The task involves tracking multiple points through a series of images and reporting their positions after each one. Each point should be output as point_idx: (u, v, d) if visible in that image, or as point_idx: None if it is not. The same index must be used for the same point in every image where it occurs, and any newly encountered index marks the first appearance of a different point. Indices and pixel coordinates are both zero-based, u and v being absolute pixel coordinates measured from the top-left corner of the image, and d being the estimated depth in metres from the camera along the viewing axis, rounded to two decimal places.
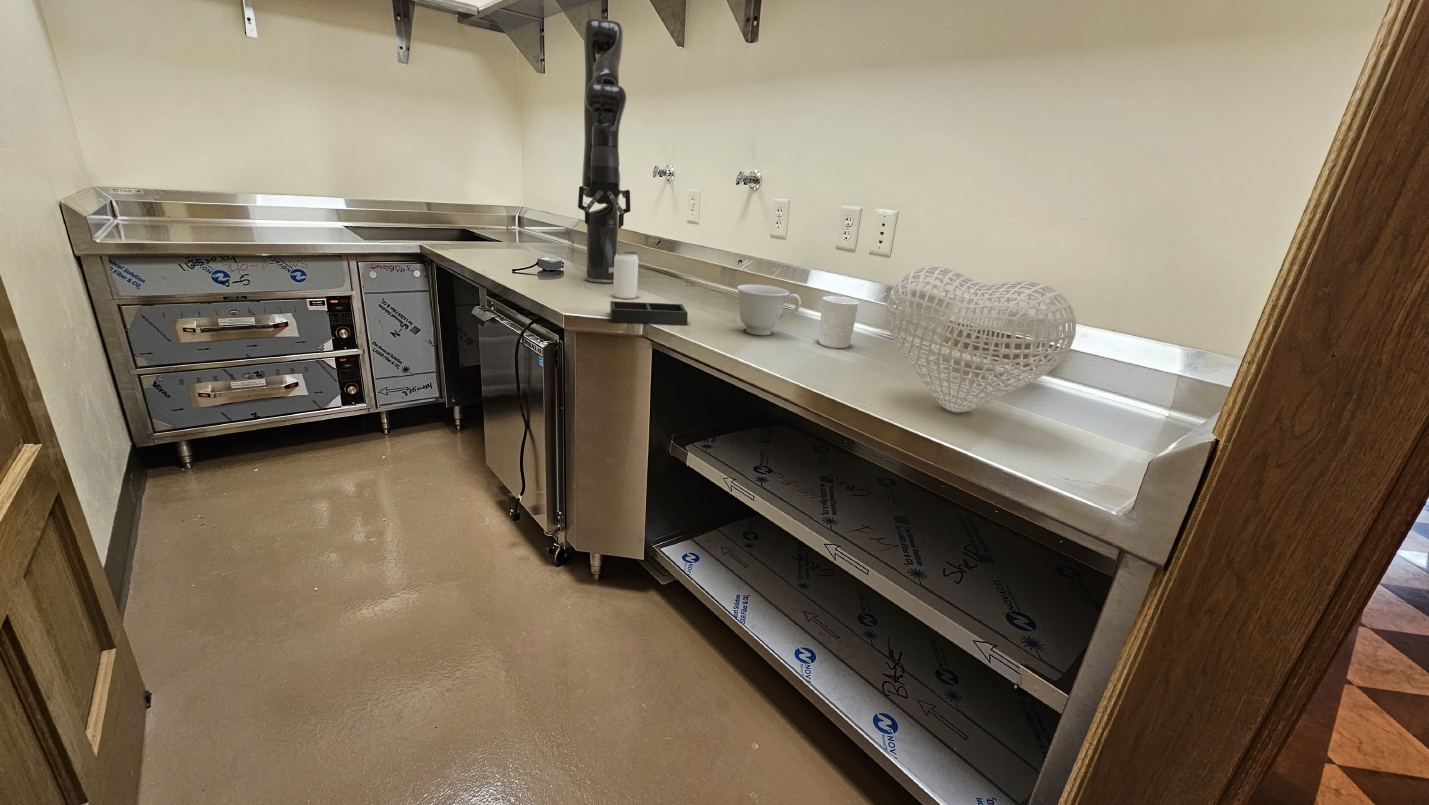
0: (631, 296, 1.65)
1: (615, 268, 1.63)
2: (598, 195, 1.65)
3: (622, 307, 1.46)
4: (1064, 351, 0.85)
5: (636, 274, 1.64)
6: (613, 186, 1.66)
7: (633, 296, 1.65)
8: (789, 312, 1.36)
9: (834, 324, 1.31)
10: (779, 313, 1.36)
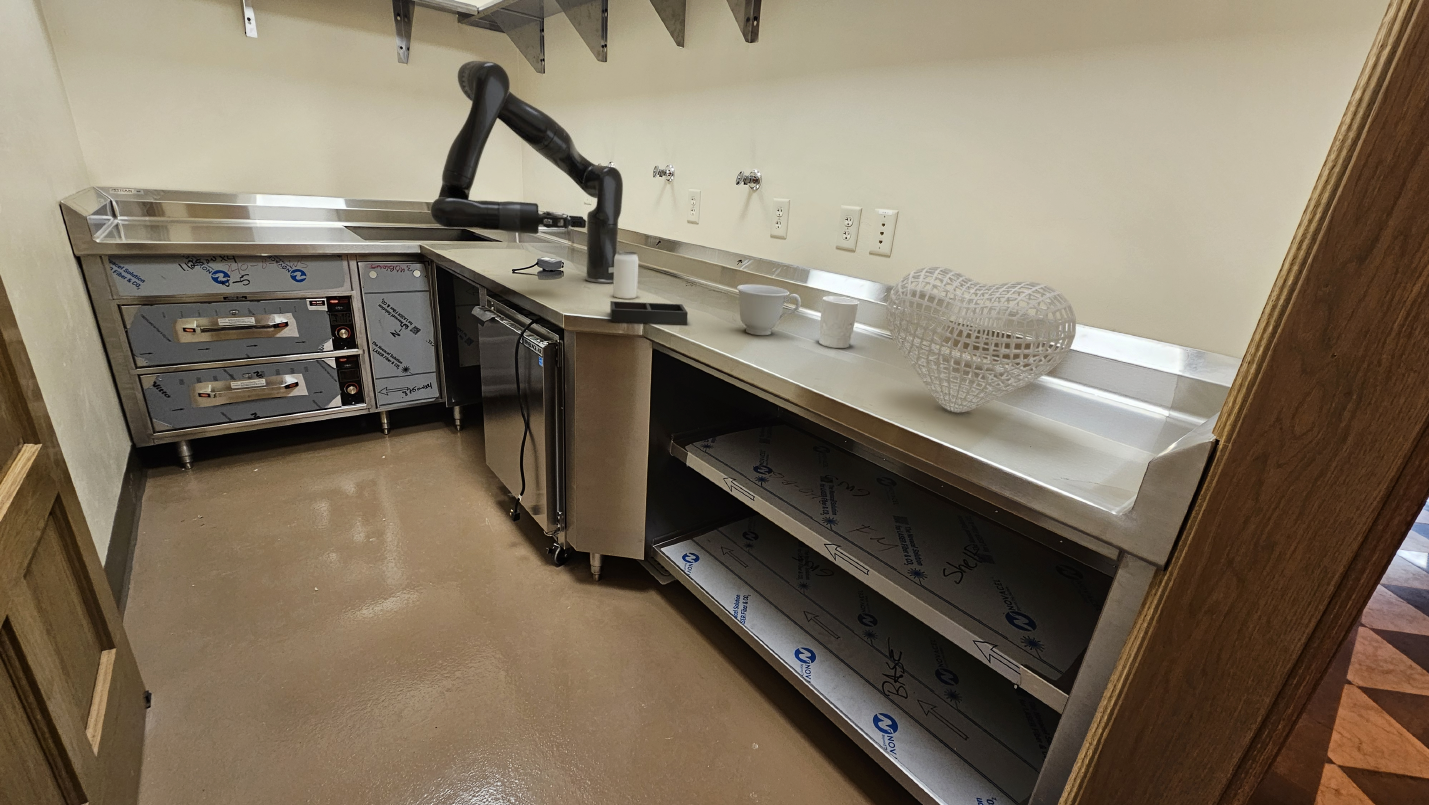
0: (631, 296, 1.65)
1: (615, 268, 1.63)
2: None
3: (622, 307, 1.46)
4: (1064, 351, 0.85)
5: (636, 274, 1.64)
6: None
7: (633, 296, 1.65)
8: (789, 312, 1.36)
9: (834, 324, 1.31)
10: (779, 313, 1.36)
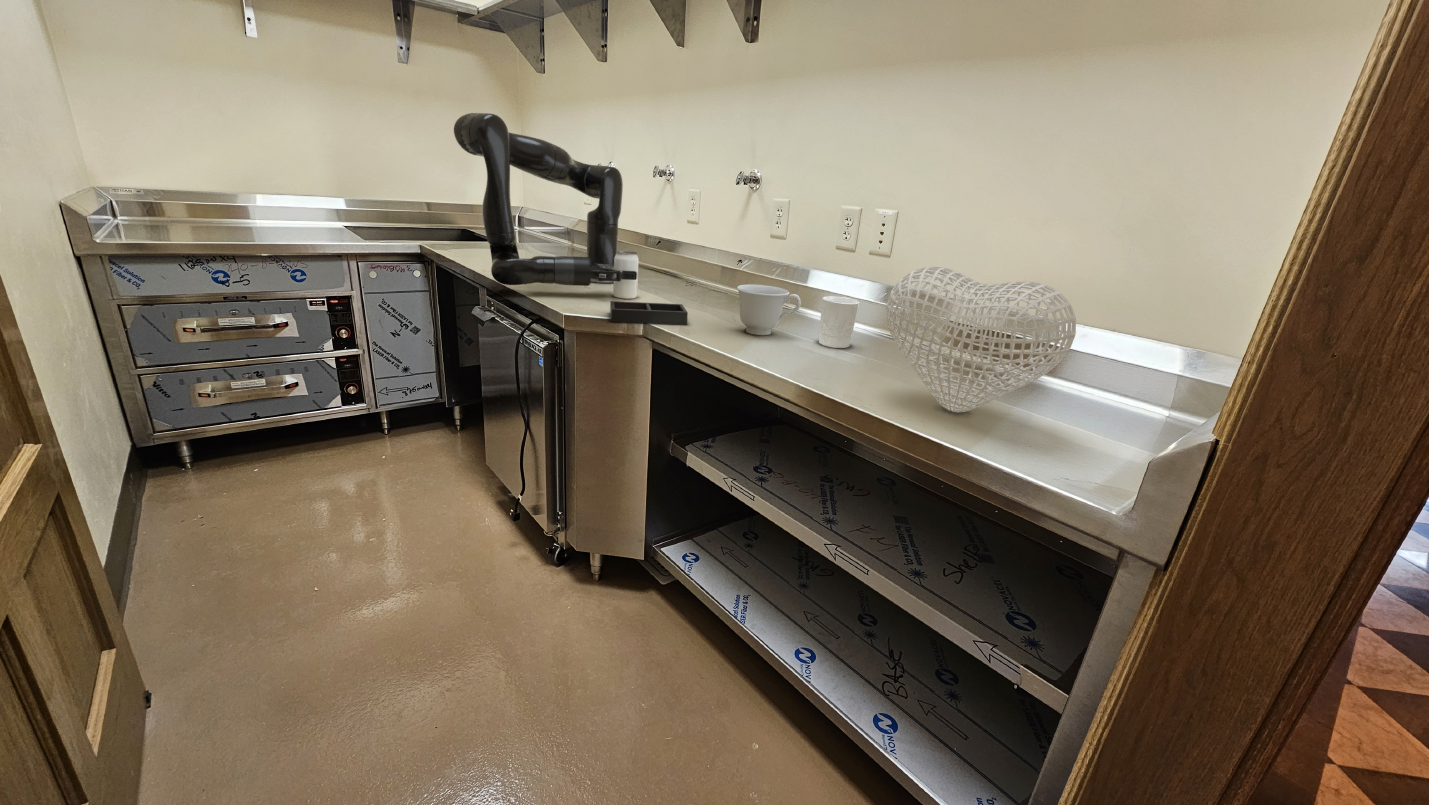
0: (631, 296, 1.65)
1: (615, 268, 1.63)
2: None
3: (622, 307, 1.46)
4: (1064, 351, 0.85)
5: None
6: None
7: (633, 296, 1.65)
8: (789, 312, 1.36)
9: (834, 324, 1.31)
10: (779, 313, 1.36)
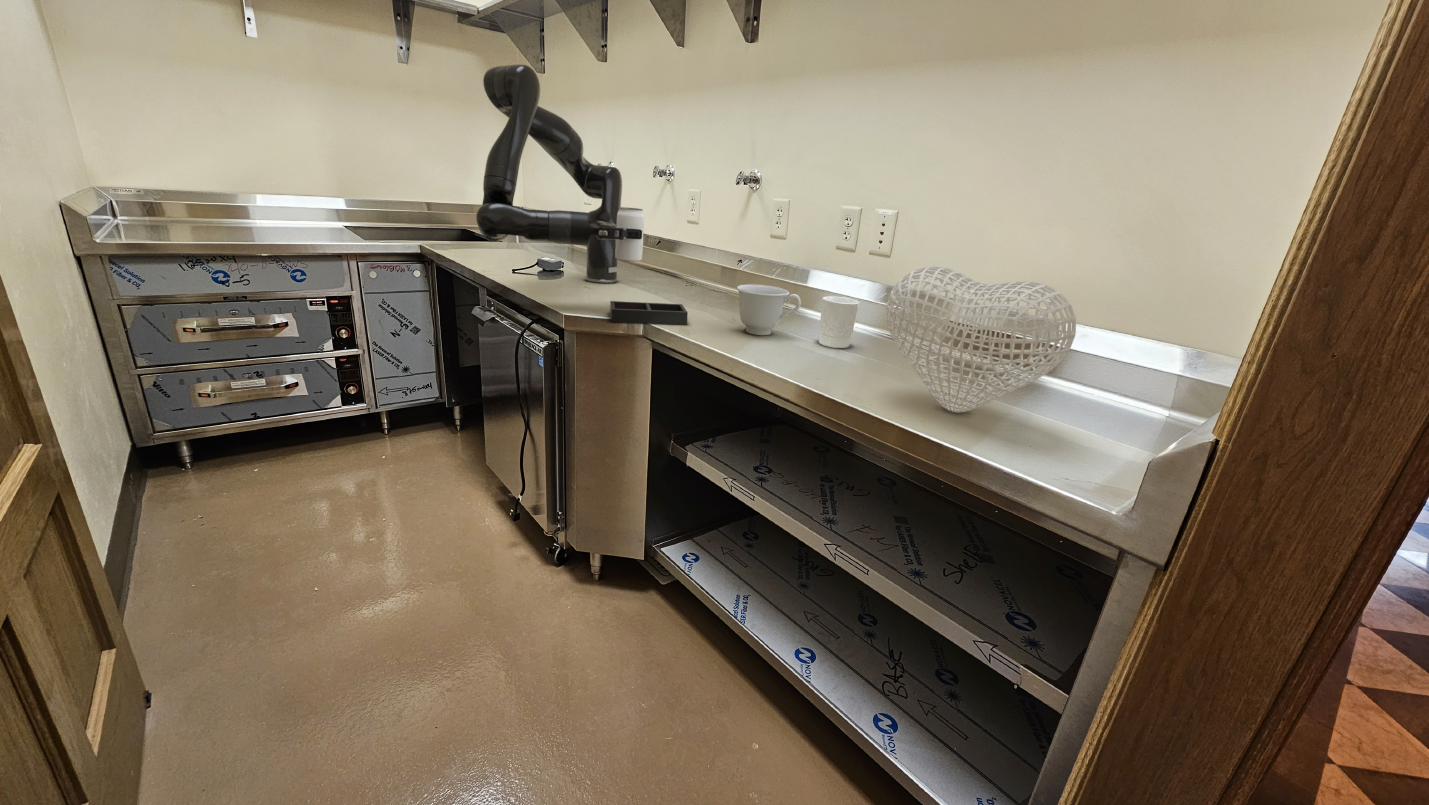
0: (635, 258, 1.46)
1: (618, 226, 1.44)
2: None
3: (622, 307, 1.46)
4: (1064, 351, 0.85)
5: None
6: (592, 235, 1.42)
7: (637, 258, 1.46)
8: (789, 312, 1.36)
9: (834, 324, 1.31)
10: (779, 313, 1.36)
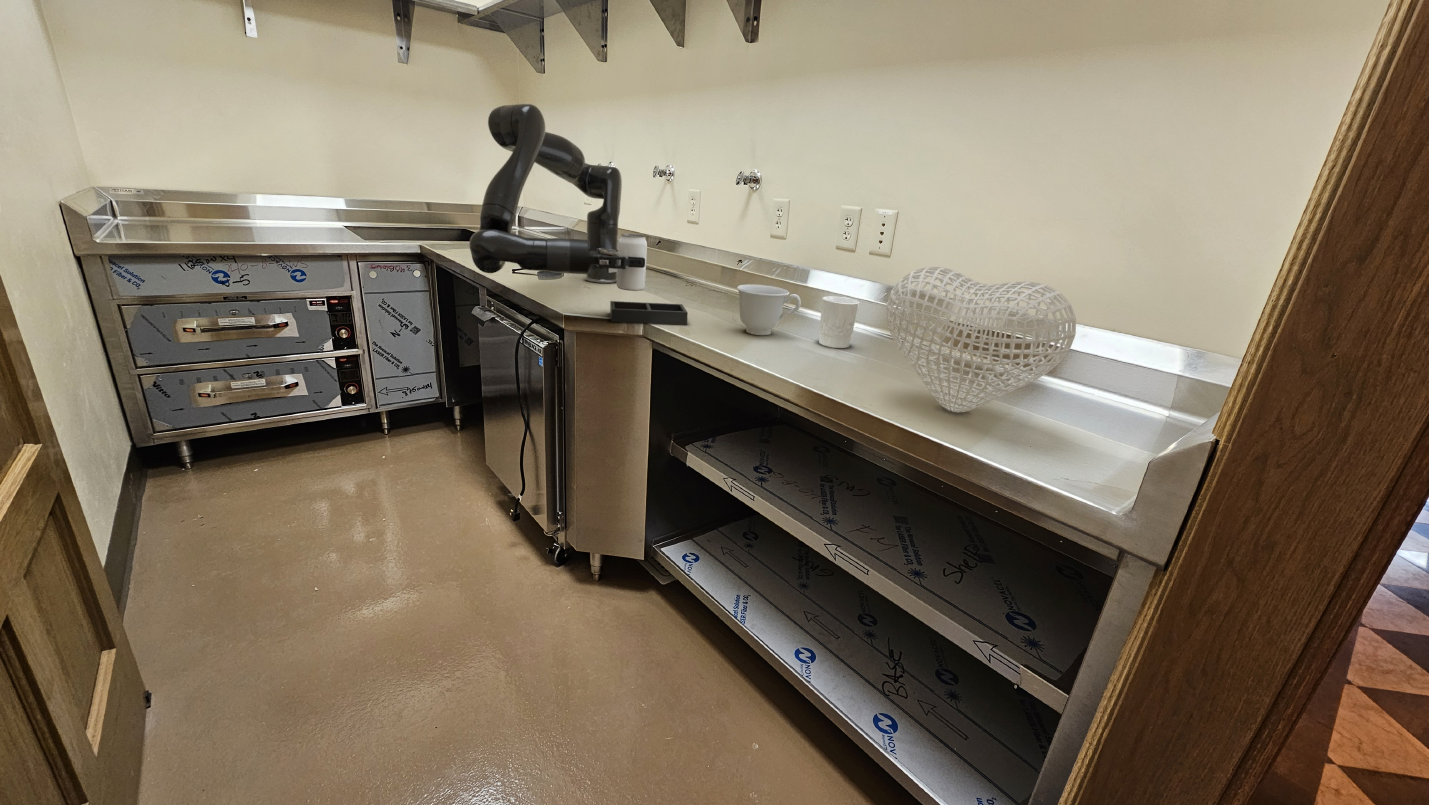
0: (638, 287, 1.38)
1: (619, 254, 1.36)
2: None
3: (622, 307, 1.46)
4: (1064, 351, 0.85)
5: None
6: None
7: (640, 287, 1.39)
8: (789, 312, 1.36)
9: (834, 324, 1.31)
10: (779, 313, 1.36)
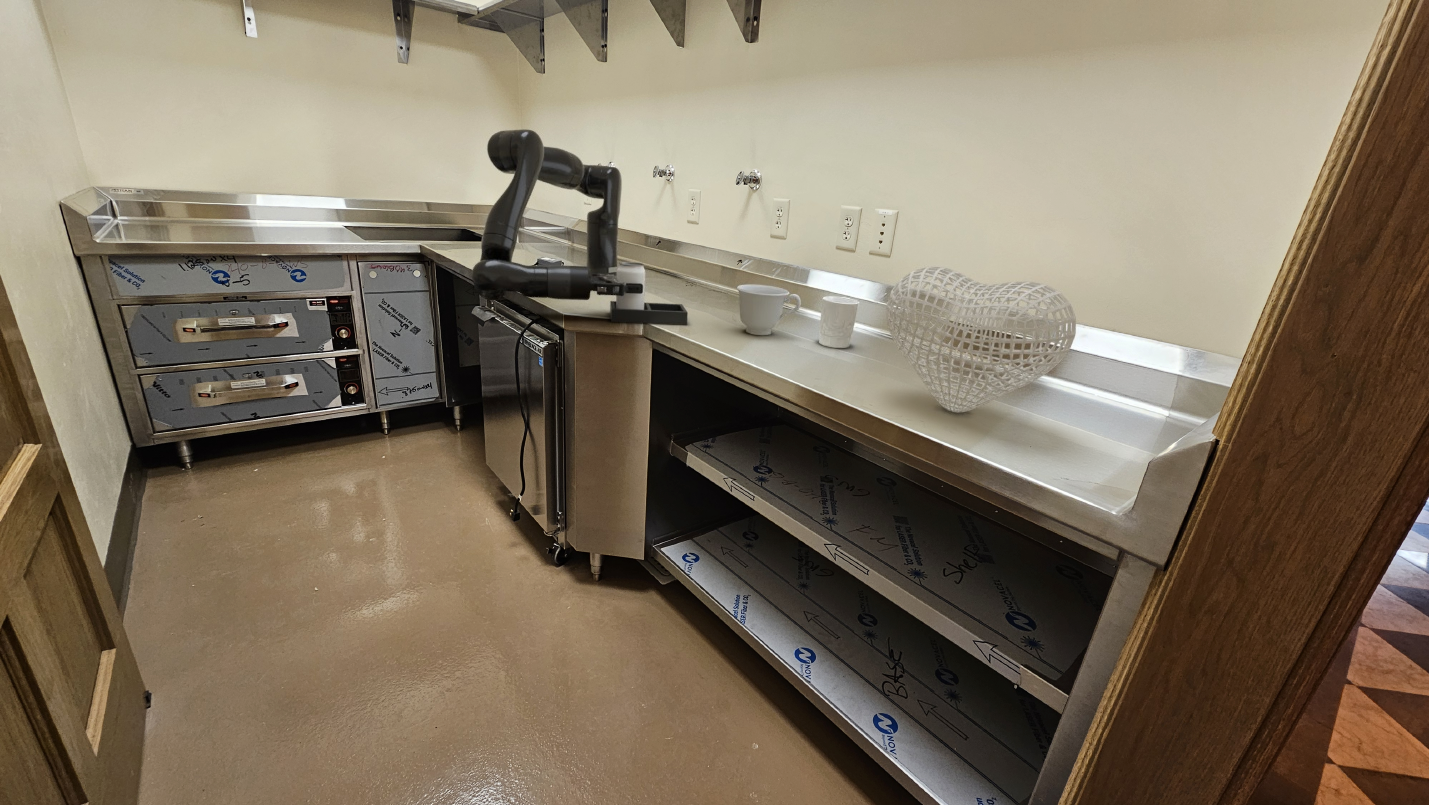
0: None
1: None
2: None
3: None
4: (1064, 351, 0.85)
5: (643, 289, 1.40)
6: None
7: None
8: (789, 312, 1.36)
9: (834, 324, 1.31)
10: (779, 313, 1.36)
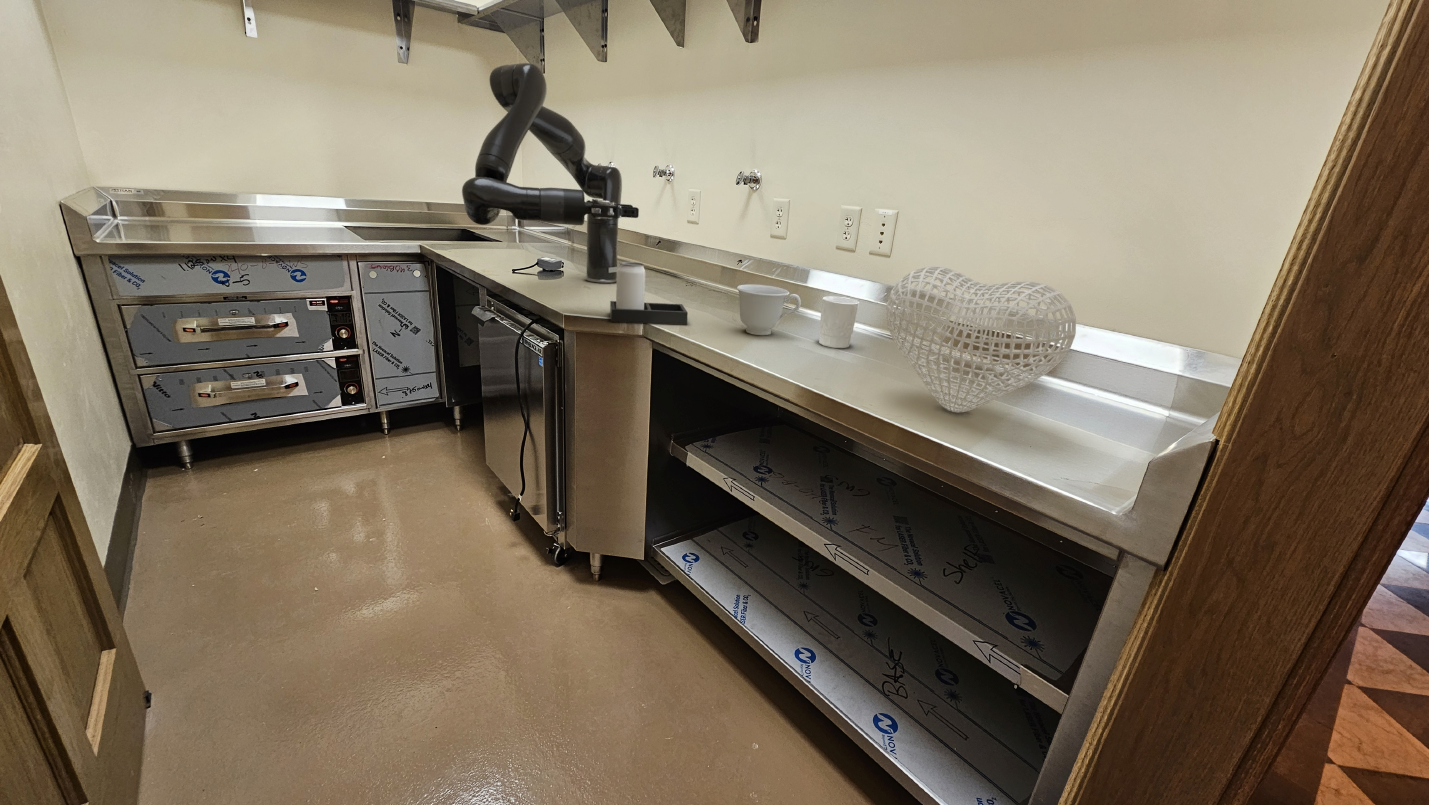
0: None
1: (618, 282, 1.38)
2: None
3: None
4: (1064, 351, 0.85)
5: (643, 289, 1.40)
6: None
7: None
8: (789, 312, 1.36)
9: (834, 324, 1.31)
10: (779, 313, 1.36)
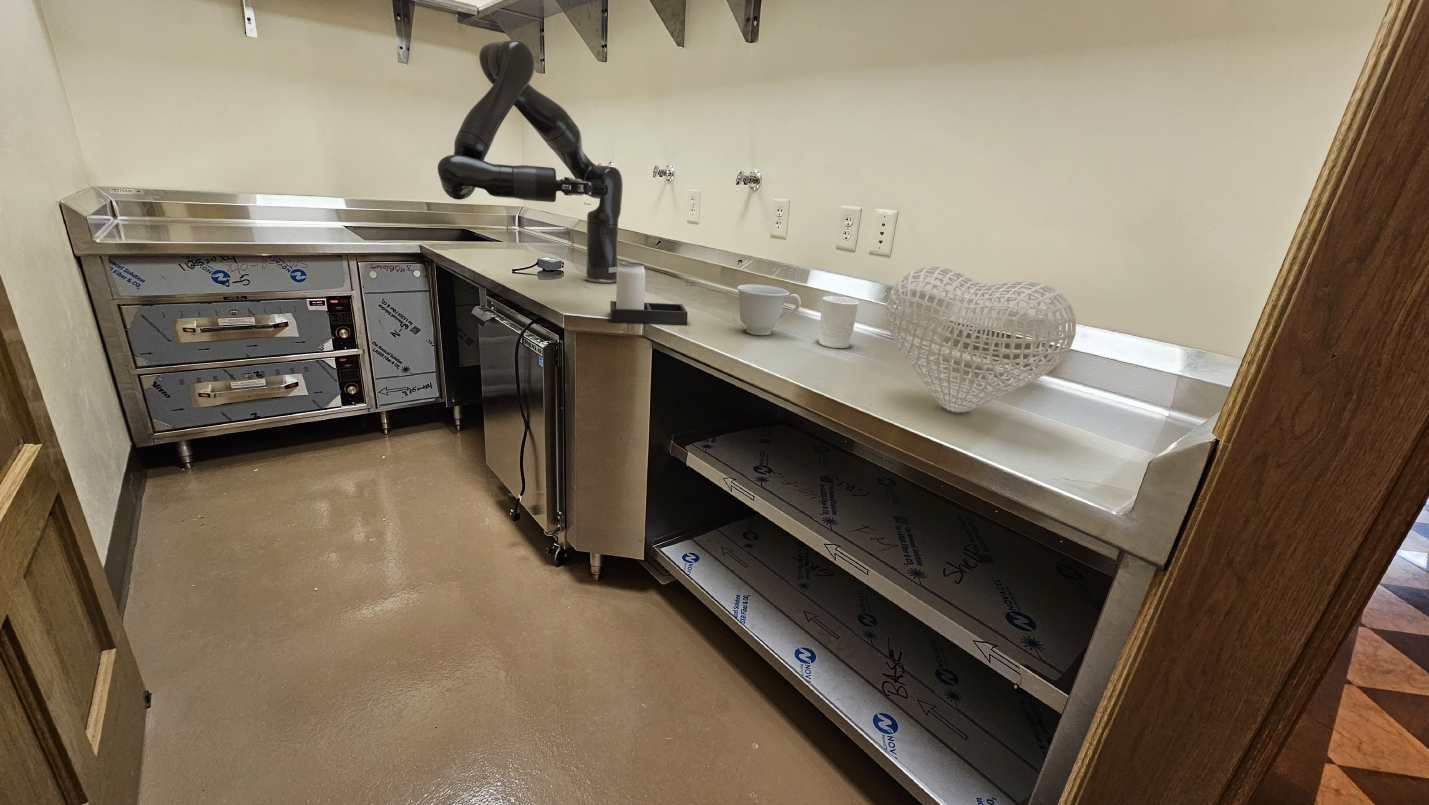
0: None
1: (618, 282, 1.38)
2: None
3: None
4: (1064, 351, 0.85)
5: (643, 289, 1.40)
6: None
7: None
8: (789, 312, 1.36)
9: (834, 324, 1.31)
10: (779, 313, 1.36)
